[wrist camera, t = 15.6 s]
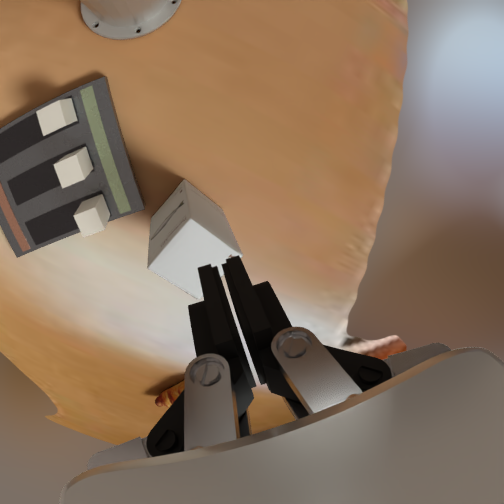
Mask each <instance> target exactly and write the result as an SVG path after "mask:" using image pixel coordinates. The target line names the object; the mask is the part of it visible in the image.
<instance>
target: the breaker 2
mask: <svg viewBox="0 0 504 504" xmlns="http://www.w3.org/2000/svg"><path fill="white" fill-rule="evenodd" d="M54 168H55V170H56V173H57V176H58V178H59V181H60V184H61V186H62V189H63V188H65V187H68V186H70V185H72V184H75V183H77V182H79V181H82V180H84V179H85V178H86V177H87V176H88V175H89V173H90V172H91V171H92V170H93V166H92V163H91V160H90V157H89V154H88V151H87V148H86V147H84V148H81V149H79V150H77V151H74V152H72V153H70V154H67V155H65V156H64V157H63V158H61V159H60V160H59V161H57V162H56V163H55V164H54Z"/></svg>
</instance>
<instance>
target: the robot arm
mask: <svg viewBox="0 0 504 504" xmlns="http://www.w3.org/2000/svg"><path fill="white" fill-rule="evenodd" d="M80 1H81V14H82V17H83V20H84V21H85V23H86V25H87V26H88V27H89V28H90V29H91V30H92V31H93V32H95V33H96V34H98V35H100V36H102V37H105V38H109V39H113V40H127V39H134V38H138V37H142V36H144V35H147V34H149V33H151V32H153V31H155V30H156V29H158V28H160V27H161V26H162V25H164V24H165V23H166V22H167V21H168V20H169V19H170V18H171V17H172V16H173V15H174V14H175V12H176V10H177V9H178V7H179V5H180V3H181V0H80ZM173 1H175V2H176V3H175V4H172V2H173ZM97 24H99V26H98V27H97V28H96V27H95V26H96V25H97ZM137 30H141V31H140V33H137ZM221 265H222V268H223V272H224V275H225V279H226V282H227V285H228V289H229V292H230V295H231V299H232V302H233V305H234V309H235V312H236V315H237V318H238V321H239V324H240V327H241V330H242V333H243V336H244V338H245V341H246V344H247V347H248V350H249V353H250V356H251V358H252V361H253V364H254V367H255V370H256V372H257V375H258V378H259V381H260V383H261V385H262V384H265V383H267V386H268V389H269V390H270V391H271V393H274V394H277V395H280V396H282V398H283V400H284V402H285V403H286V405H287V407H288V408H289V410H290V411H291V413H292V414H293V416H294V417H295V419H296V420H295V421H293V422H290V423H287V424H284V425H281V426H278V427H275V428H272V429H269V430H266V431H263V432H260V433H256V434H253V435H252V431H251V423H250V416H249V410H248V406H249V405H250V403H251V402H252V400H253V399H254V397H253V396H254V395H253V392H252V389H251V388H253V387H256V383H255V380H254V378H253V375H252V372H251V369H250V366H249V363H248V360H247V357H246V354H245V351H244V348H243V345H242V342H241V339H240V336H239V333H238V330H237V327H236V324H235V320H234V317H233V314H232V311H231V308H230V305H229V302H228V299H227V296H226V293H225V289H224V286H223V283H222V280H221V277H220V274H219V270H218V267H217V266H214V267H212V266H211V264H208V265H205V266H201V267H198V273H199V278H200V283H201V288H202V292H203V297H204V301H201V302H198V303H195V304H191V305H188V309H189V316H190V322H191V328H192V334H193V340H194V345H195V351H196V356H197V358H195V359H193V360H192V361H191V362H190V363H189V365H188V366H187V368H186V371H185V387H184V390H183V391H182V392H181V394H180V395H179V396H178V397H177V399H176V400H175V401H174V402H173V404H172V405H171V406H170V408H169V409H168V410H167V411H166V413H165V414H164V415H163V416H162V418H161V419H160V420H159V421H158V423H157V424H156V425H155V426H154V427H153V429H152V430H151V431H150V433H149V435H148V436H147V437H145V438H140V437H138V438H135V439H133V440H130V441H128V442H125V443H123V444H120V445H117V446H114V447H112V448H109V449H106V450H103V451H101V452H98V453H96V454H94V455H93V456H92V457H91V458H90V460H89V462H88V471H86V472H83V473H81V474H80V475H78V476H76V477H74V478H73V479H72V480H70V481H69V482H68V483H67V484H66V485H65V486H64V488H63V490H62V492H61V496H60V501H59V504H504V362H503V361H502V360H501V359H500V358H499V357H497V356H496V355H495V354H494V353H492V352H490V351H489V350H487V349H484V348H479V347H467V348H460V349H455V350H450V348H449V347H448V346H446V345H444V344H441V343H432V344H429V345H426V346H422V347H419V348H416V349H412V350H409V351H405V352H401V353H397V354H394V355H390V356H388V359H384V360H381V359H378V358H375V357H370V356H366V355H362V354H358V353H353V352H349V351H345V350H341V349H337V348H333V347H329V346H325V345H323V344H322V343H321V342H320V341H319V340H318V338H317V337H316V336H315V335H314V334H313V333H312V332H311V331H310V330H308V329H305V328H303V327H292V325H291V323H290V321H289V319H288V318H287V316H286V314H285V312H284V310H283V308H282V306H281V304H280V302H279V300H278V298H277V297H276V295H275V293H274V291H273V289H272V287H271V285H270V283H269V282H268V281H266V282H263V283H260V284H257V285H253V286H252V283H251V281H250V279H249V277H248V274H247V272H246V270H245V268H244V265H243V263H242V261H241V259H240V256H239V255H238V256H234V257H231V258H228V259H226V263H224V264H221Z"/></svg>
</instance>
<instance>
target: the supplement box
mask: <svg viewBox="0 0 504 504" xmlns="http://www.w3.org/2000/svg"><path fill="white" fill-rule="evenodd" d="M238 255H239V256H240V258H241V257H242V256H243V254H242V252H241V250H240V247H239V245H238V243H237V241H236V238H235V236H234V234H233V232H232V230H231V227H230V225H229V223H228V221H227V218H226V216H225V214H224V212H223V210H222V209H221V208H220V207H219V206H218V205H216V204H215V203H214V202H213V201H211V200H210V199H209V198H208V197H206V196H205V195H204V194H203V193H201V192H200V191H199V190H198V189H196V188H195V187H194V186H193V185H191V184H190V183H189V182H188V181H186V180H185V179H184V180H183V181H182V182H181V183H180V185H179V186H178V187H177V188H176V190H175V191H174V192H173V193H172V194H171V196H170V197H169V198H168V199H167V200H166V201H165V203H164V204H163V205H162V206H161V207H160V208H159V210H158V211H157V212H156V213H155V214H154V215H153V216H152V218H151V224H150V236H149V250H148V267H147V268H148V269H149V270H151V271H152V272H154V273H155V274H157V275H159V276H160V277H162V278H164V279H165V280H167V281H168V282H170V283H172V284H174V285H175V286H177V287H178V288H180V289H181V290H183V291H185V292H186V293H188V294H190V295H191V296H193V297H194V298H196V299H200V298H201V297H202V296H203V292H202V288H201V283H200V278H199V273H198V267H201V266H205V265H208V264H211V266H212V267H214V266H217V267H218V270H219V274H220V277H222V276H223V275H224V272H223V268H222V265H221V264H224V263H226V259H228V258H231V257H234V256H238Z"/></svg>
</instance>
